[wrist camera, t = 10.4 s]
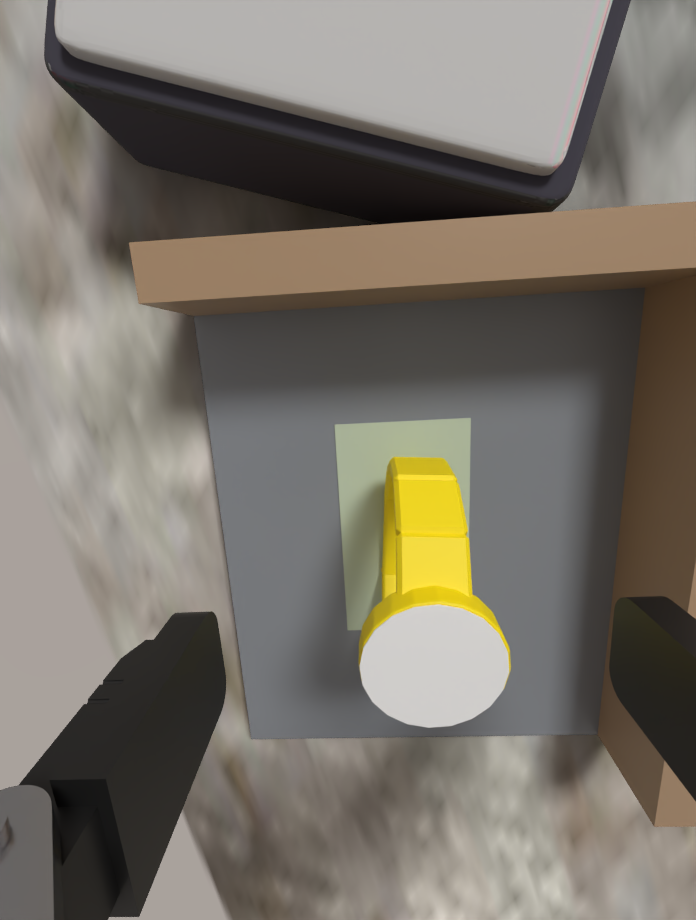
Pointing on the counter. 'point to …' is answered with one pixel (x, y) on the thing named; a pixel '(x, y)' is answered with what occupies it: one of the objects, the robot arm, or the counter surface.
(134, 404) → the counter surface
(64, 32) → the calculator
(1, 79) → the counter surface
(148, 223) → the counter surface
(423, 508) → the watch
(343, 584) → the corner tray
